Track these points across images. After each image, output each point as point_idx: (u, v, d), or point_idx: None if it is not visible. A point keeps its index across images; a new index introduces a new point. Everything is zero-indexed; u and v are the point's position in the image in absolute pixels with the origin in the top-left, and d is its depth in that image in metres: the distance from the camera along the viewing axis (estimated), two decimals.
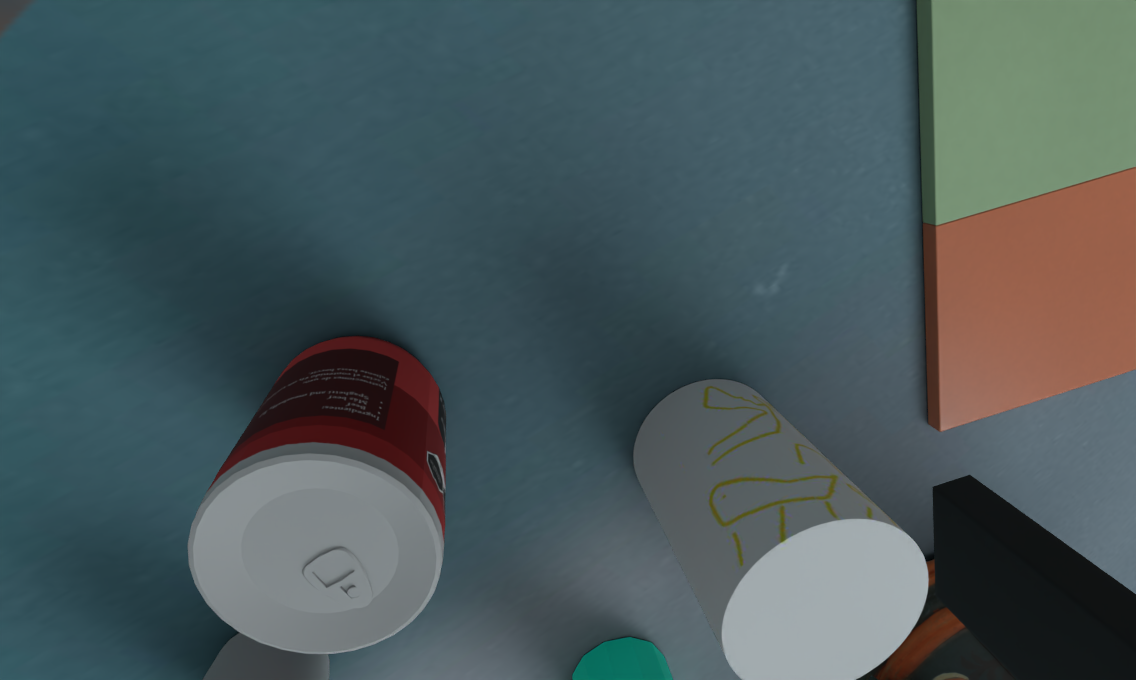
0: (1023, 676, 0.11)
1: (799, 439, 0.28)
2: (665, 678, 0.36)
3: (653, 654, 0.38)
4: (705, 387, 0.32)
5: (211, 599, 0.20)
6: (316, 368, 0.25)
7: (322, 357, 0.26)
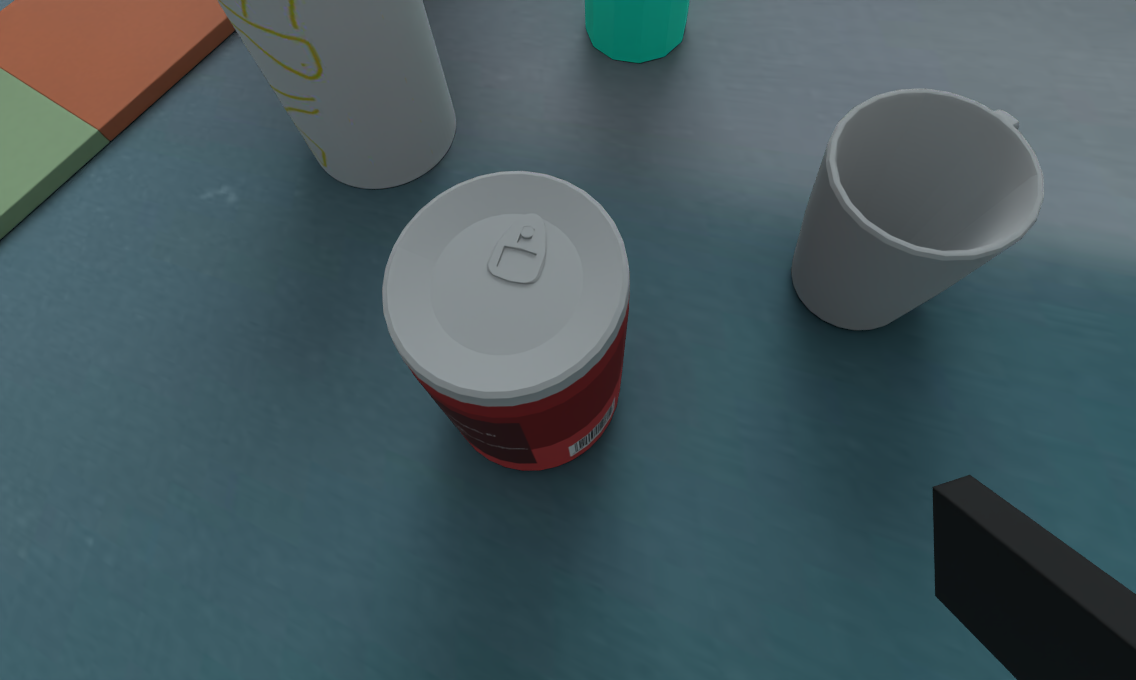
0: (1022, 676, 0.11)
1: None
2: None
3: (586, 17, 0.37)
4: (326, 167, 0.34)
5: (605, 327, 0.19)
6: (465, 434, 0.24)
7: (471, 442, 0.26)
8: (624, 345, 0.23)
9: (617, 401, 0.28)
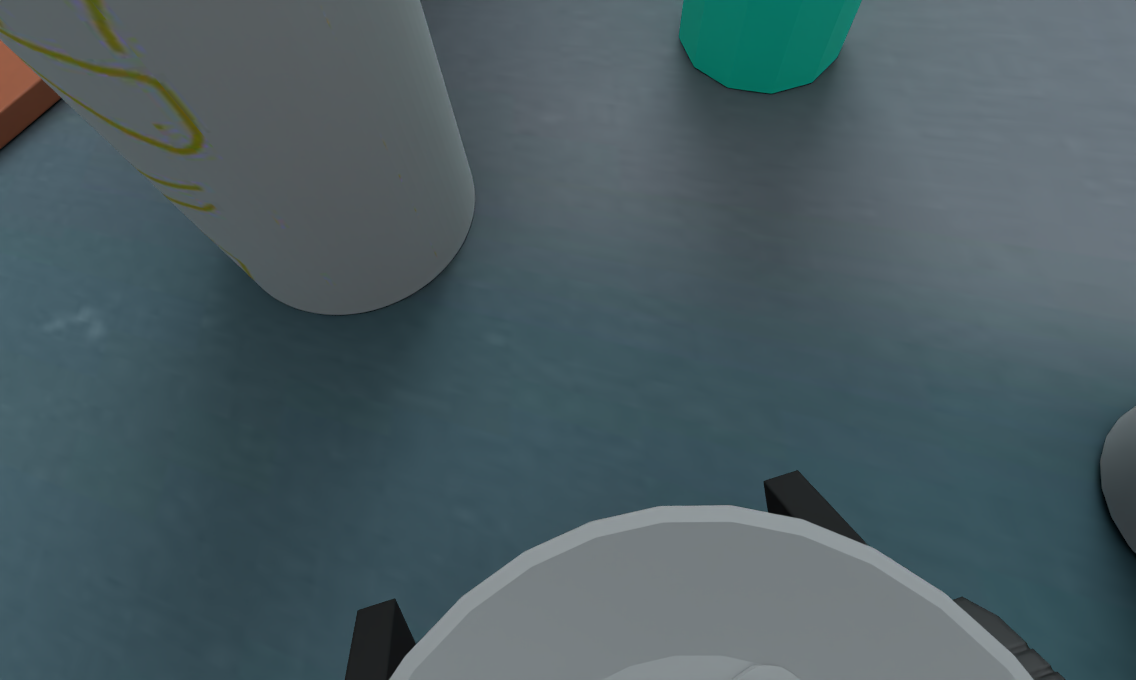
0: None
1: None
2: None
3: (683, 19, 0.23)
4: (254, 280, 0.20)
5: None
6: None
7: None
8: None
9: None
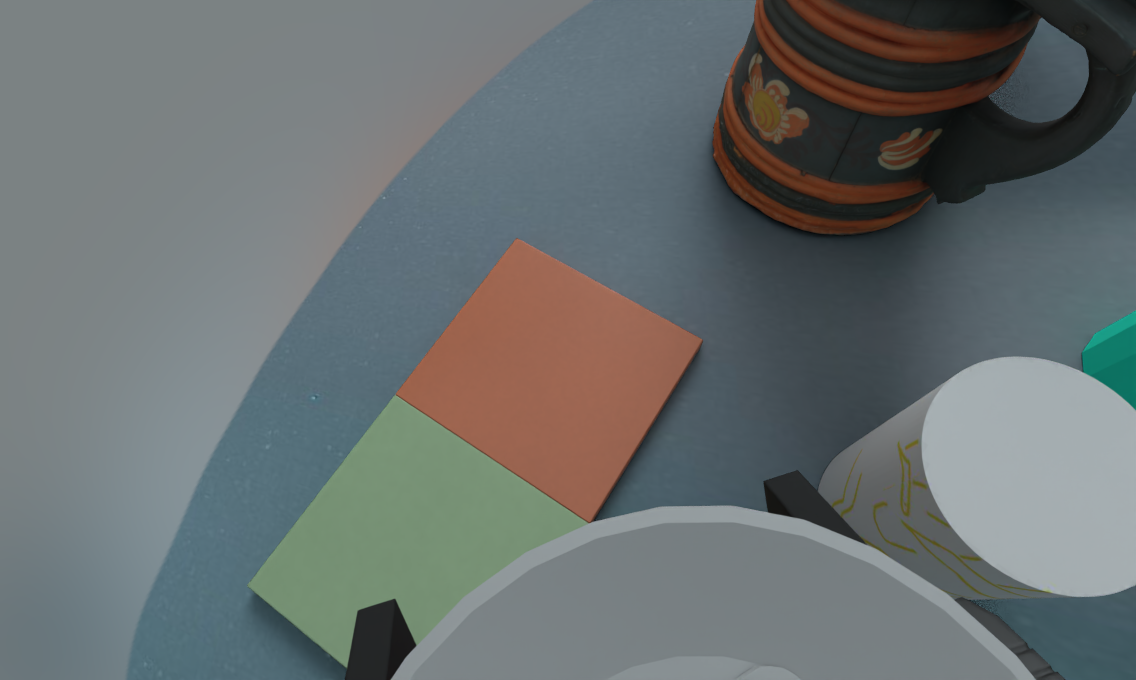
0: None
1: (870, 528, 0.27)
2: (1118, 359, 0.33)
3: (1098, 375, 0.34)
4: None
5: None
6: None
7: None
8: None
9: None
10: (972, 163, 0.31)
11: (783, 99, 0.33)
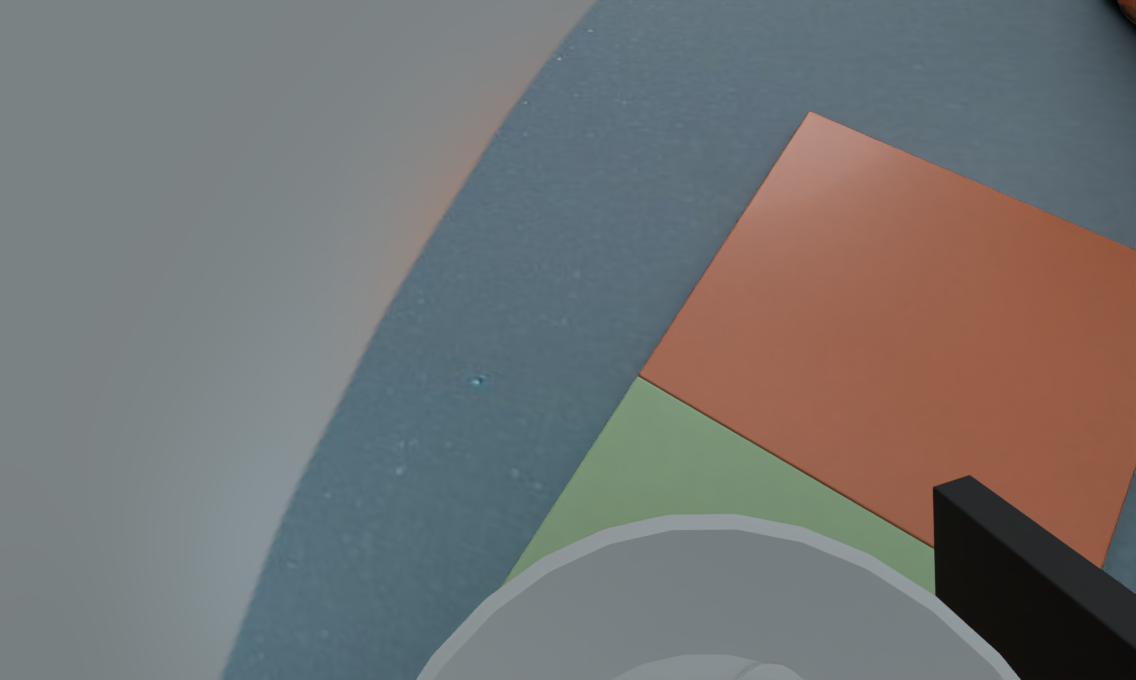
0: (1023, 676, 0.11)
1: None
2: None
3: None
4: None
5: None
6: None
7: None
8: None
9: None
10: None
11: None
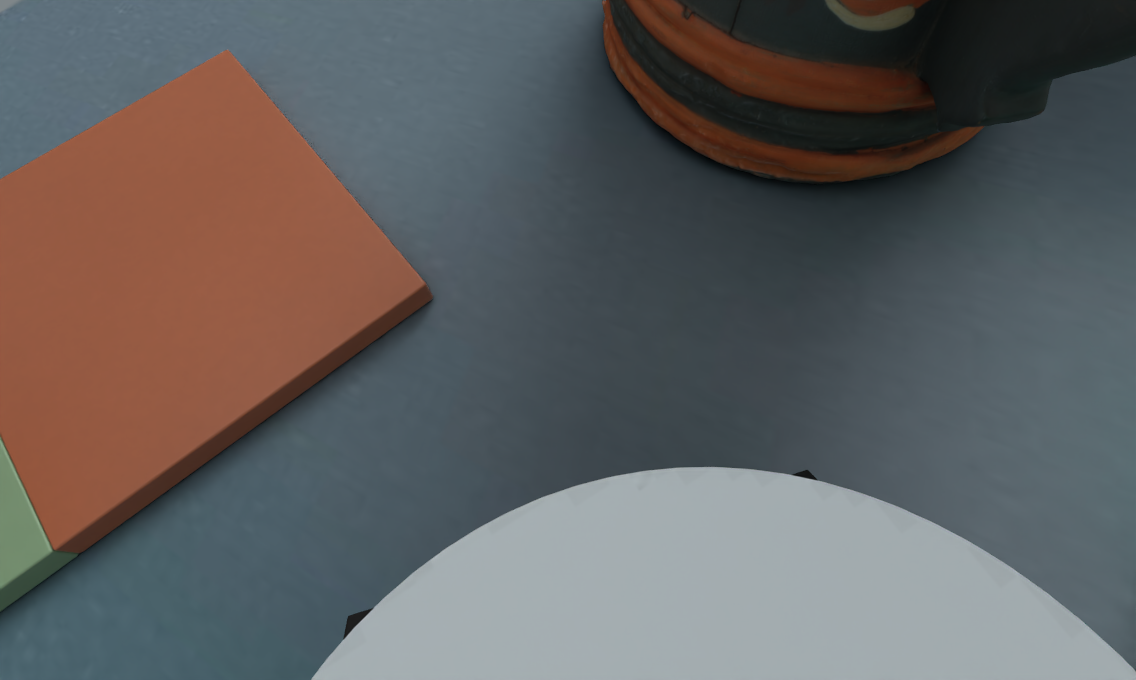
0: None
1: None
2: None
3: None
4: None
5: None
6: None
7: None
8: None
9: None
10: (1022, 14, 0.13)
11: None
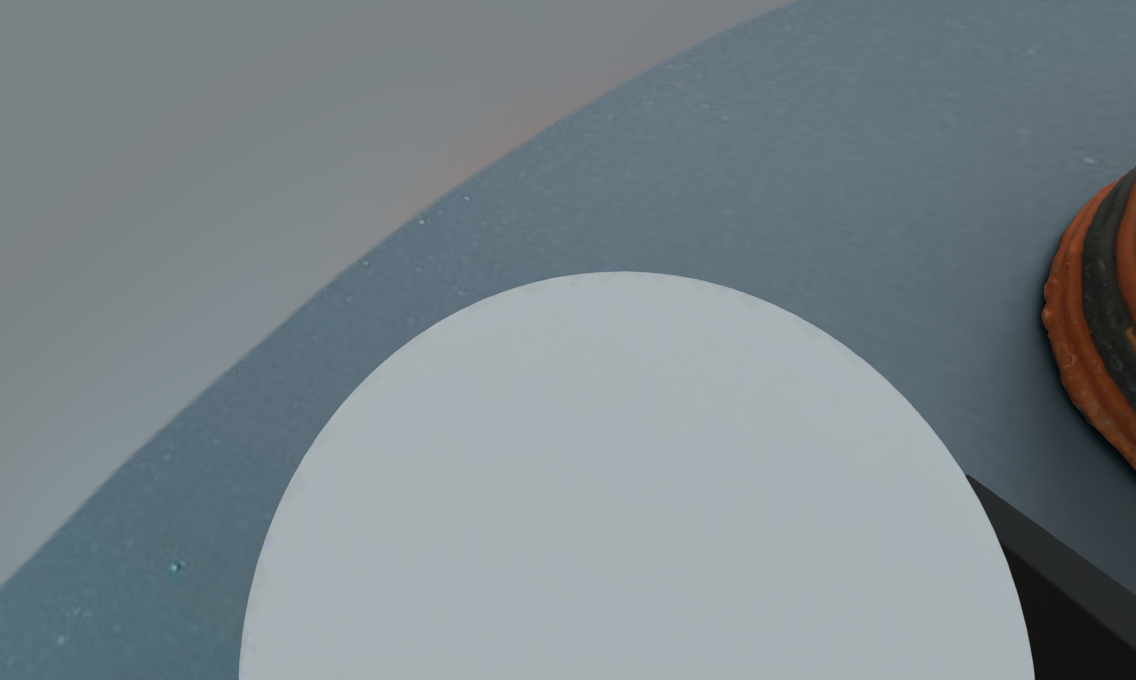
0: None
1: None
2: None
3: None
4: None
5: None
6: None
7: None
8: None
9: None
10: None
11: None
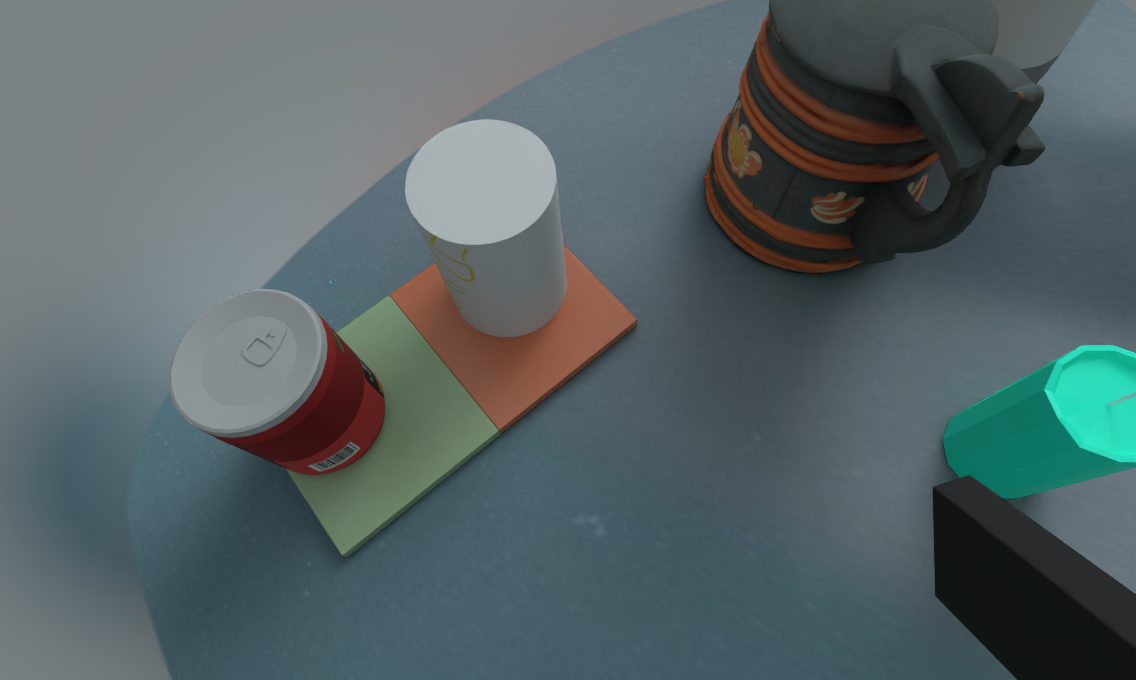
0: (1023, 677, 0.11)
1: None
2: (964, 427, 0.38)
3: (950, 439, 0.39)
4: (458, 310, 0.44)
5: (282, 406, 0.31)
6: None
7: None
8: (343, 412, 0.35)
9: (371, 443, 0.40)
10: (879, 231, 0.37)
11: (747, 142, 0.40)
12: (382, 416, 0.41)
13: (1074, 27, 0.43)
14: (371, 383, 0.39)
